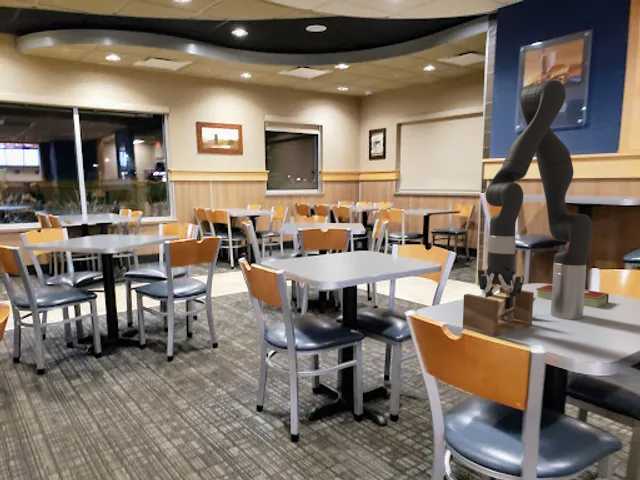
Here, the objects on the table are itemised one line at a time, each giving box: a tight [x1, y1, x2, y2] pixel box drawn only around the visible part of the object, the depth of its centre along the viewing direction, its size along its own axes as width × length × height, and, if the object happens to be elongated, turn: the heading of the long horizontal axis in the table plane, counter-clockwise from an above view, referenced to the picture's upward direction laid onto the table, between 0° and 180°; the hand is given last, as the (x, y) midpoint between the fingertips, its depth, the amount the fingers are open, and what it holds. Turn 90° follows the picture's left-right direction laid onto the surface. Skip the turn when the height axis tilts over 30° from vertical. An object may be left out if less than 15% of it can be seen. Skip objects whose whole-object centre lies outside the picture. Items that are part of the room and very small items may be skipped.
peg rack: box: [462, 286, 535, 338], centre depth 133 cm, size 20×10×10 cm, turn 125°
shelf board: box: [487, 292, 516, 316], centre depth 132 cm, size 14×5×4 cm, turn 137°
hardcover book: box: [535, 284, 610, 309], centre depth 166 cm, size 12×21×4 cm, turn 42°
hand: (498, 306), depth 133 cm, fingers closed on shelf board, 5 cm apart
